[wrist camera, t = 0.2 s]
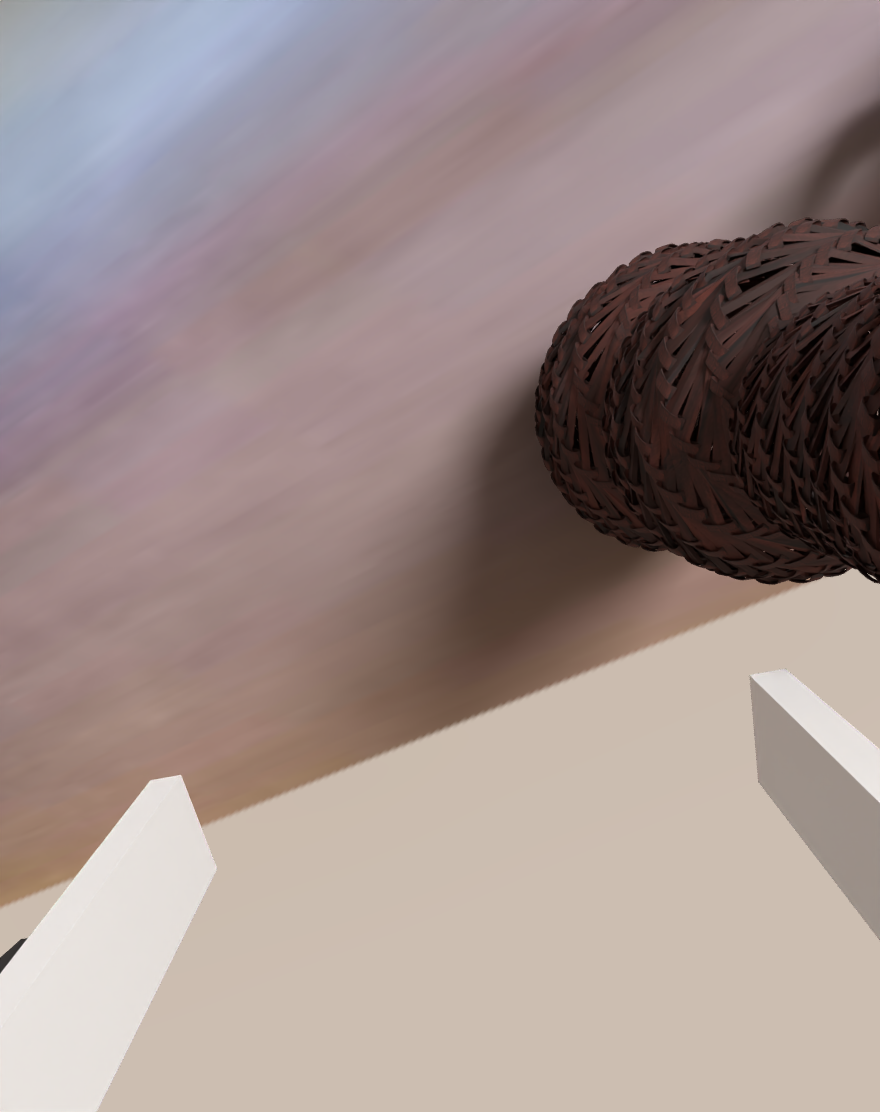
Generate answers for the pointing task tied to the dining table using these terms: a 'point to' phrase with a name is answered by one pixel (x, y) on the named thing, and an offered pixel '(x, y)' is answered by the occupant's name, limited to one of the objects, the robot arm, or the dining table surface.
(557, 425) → the vase
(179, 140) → the dining table surface
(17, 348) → the dining table surface
